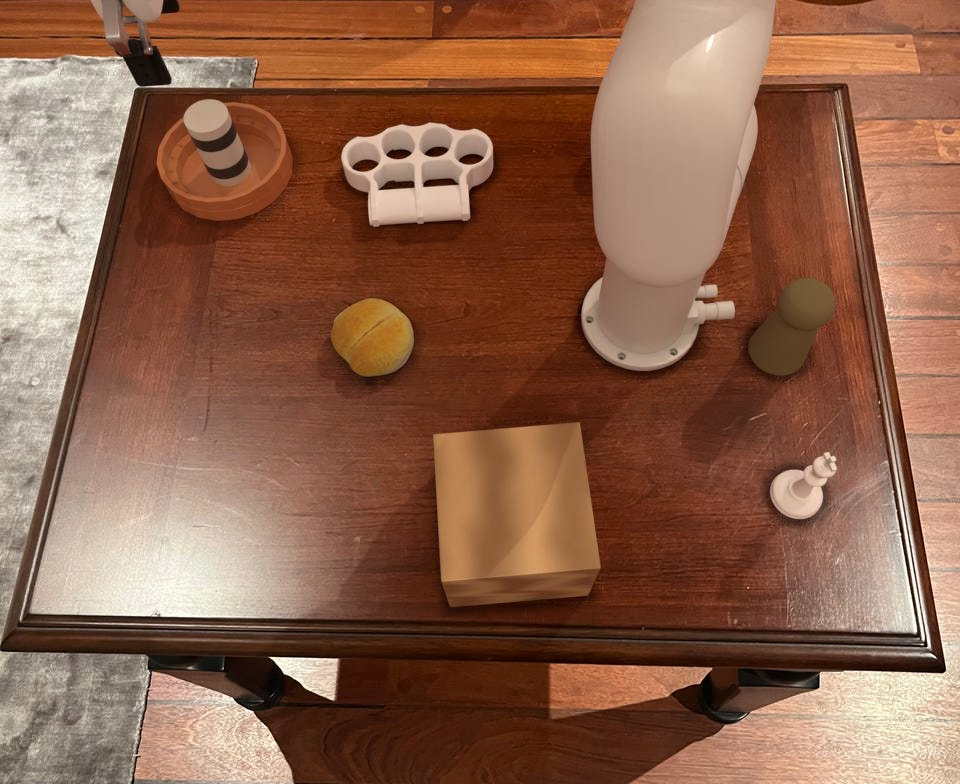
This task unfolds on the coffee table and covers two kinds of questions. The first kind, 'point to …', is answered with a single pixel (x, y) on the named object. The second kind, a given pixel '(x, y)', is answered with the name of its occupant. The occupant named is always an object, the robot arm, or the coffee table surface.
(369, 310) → the bread roll
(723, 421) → the coffee table surface
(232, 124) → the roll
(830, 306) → the olive pawn figure
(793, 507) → the chess piece
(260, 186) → the terracotta dish
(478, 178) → the knuckle duster
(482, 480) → the block
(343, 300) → the coffee table surface
